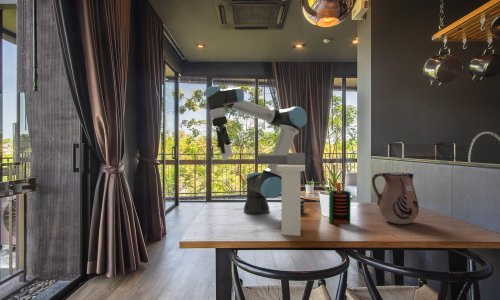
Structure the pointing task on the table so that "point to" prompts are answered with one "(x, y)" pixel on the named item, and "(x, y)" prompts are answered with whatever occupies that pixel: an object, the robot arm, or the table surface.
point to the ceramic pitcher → (397, 197)
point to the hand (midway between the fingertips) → (228, 158)
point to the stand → (291, 198)
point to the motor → (339, 206)
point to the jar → (302, 206)
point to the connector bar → (282, 159)
